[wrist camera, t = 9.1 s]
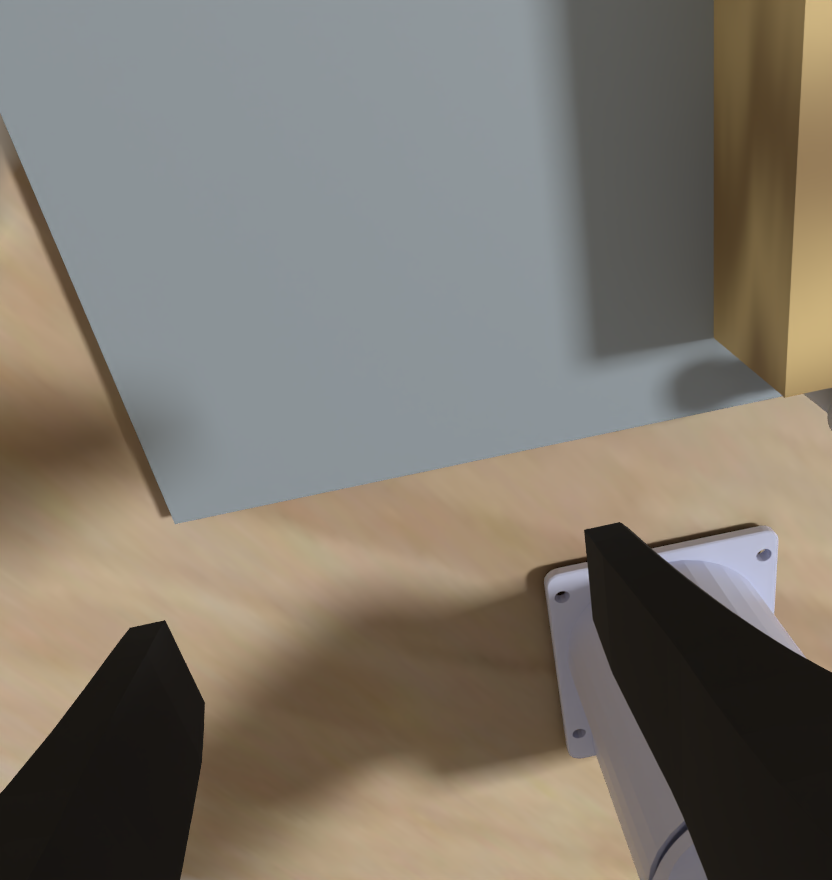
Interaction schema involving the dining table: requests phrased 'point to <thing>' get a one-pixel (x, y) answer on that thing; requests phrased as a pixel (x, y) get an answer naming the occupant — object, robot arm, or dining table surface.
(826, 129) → the frame
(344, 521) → the dining table surface
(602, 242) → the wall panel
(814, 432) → the dining table surface
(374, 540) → the dining table surface
